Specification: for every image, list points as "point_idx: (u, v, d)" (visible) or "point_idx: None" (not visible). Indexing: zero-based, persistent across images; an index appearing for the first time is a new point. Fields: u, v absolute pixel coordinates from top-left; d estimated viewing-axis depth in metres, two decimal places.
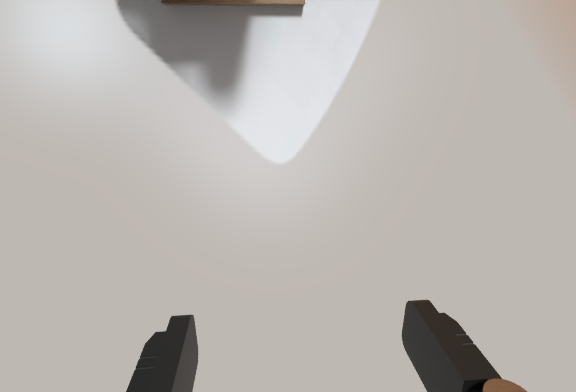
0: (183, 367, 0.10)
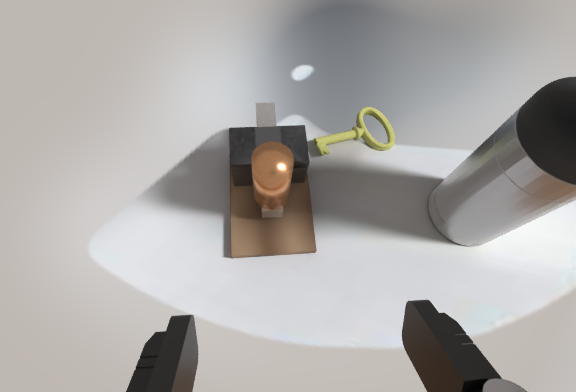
0: (183, 367, 0.10)
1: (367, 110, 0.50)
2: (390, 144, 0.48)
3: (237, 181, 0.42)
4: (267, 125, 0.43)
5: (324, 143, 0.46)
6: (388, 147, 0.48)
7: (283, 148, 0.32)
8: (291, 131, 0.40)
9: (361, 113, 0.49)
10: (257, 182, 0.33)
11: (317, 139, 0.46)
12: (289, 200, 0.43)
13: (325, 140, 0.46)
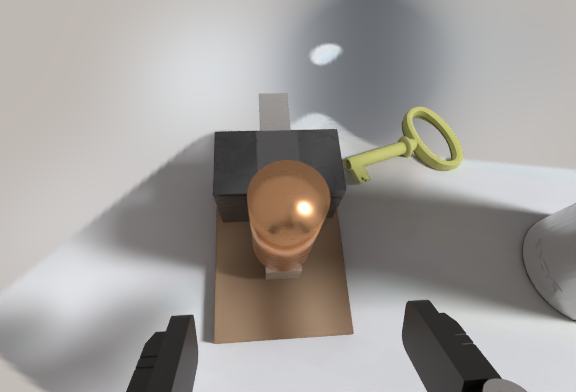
0: (183, 367, 0.10)
1: (417, 111, 0.34)
2: (458, 161, 0.32)
3: (227, 216, 0.26)
4: (276, 128, 0.27)
5: (361, 165, 0.30)
6: (455, 166, 0.32)
7: (309, 174, 0.17)
8: (315, 138, 0.25)
9: (410, 117, 0.33)
10: (258, 236, 0.18)
11: (351, 159, 0.30)
12: None
13: (363, 160, 0.30)
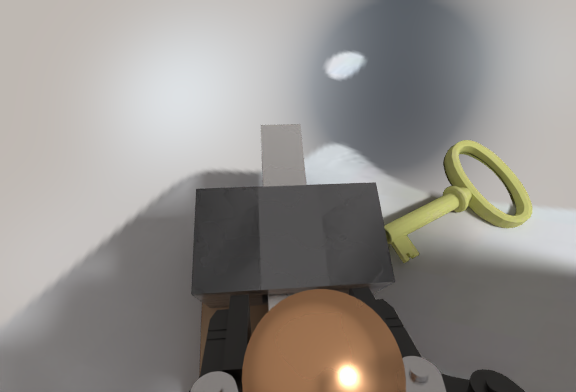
0: (248, 339, 0.11)
1: (463, 147, 0.26)
2: (528, 214, 0.24)
3: (217, 305, 0.18)
4: (286, 176, 0.19)
5: (404, 235, 0.22)
6: None
7: (362, 319, 0.09)
8: (345, 198, 0.17)
9: (456, 156, 0.25)
10: None
11: (390, 229, 0.22)
12: None
13: (406, 228, 0.22)
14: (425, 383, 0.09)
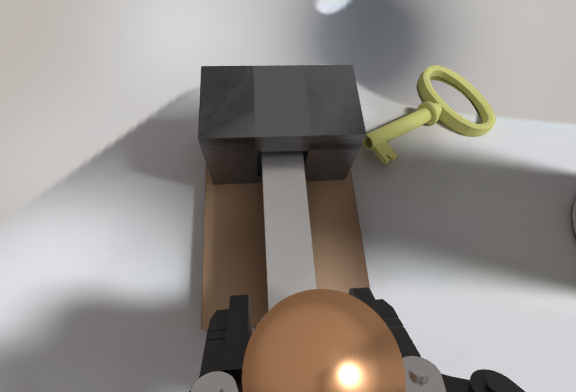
0: (248, 339, 0.11)
1: (433, 71, 0.29)
2: (492, 122, 0.27)
3: (218, 175, 0.22)
4: (285, 176, 0.19)
5: (384, 141, 0.25)
6: (489, 128, 0.27)
7: (361, 319, 0.09)
8: (326, 75, 0.20)
9: (427, 78, 0.28)
10: None
11: (371, 135, 0.24)
12: (317, 213, 0.22)
13: (385, 135, 0.25)
14: (425, 383, 0.09)
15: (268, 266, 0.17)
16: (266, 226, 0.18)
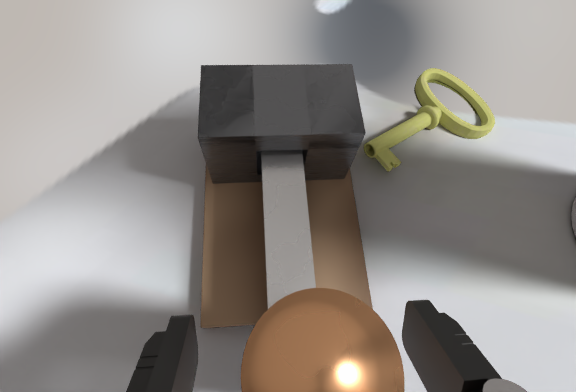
0: (183, 367, 0.10)
1: (430, 74, 0.29)
2: (491, 124, 0.27)
3: (218, 174, 0.22)
4: (285, 176, 0.19)
5: (386, 148, 0.25)
6: (489, 130, 0.27)
7: (360, 318, 0.09)
8: (326, 74, 0.20)
9: (425, 82, 0.28)
10: None
11: (373, 143, 0.24)
12: (317, 212, 0.22)
13: (387, 142, 0.25)
14: None
15: (267, 265, 0.17)
16: (265, 226, 0.18)
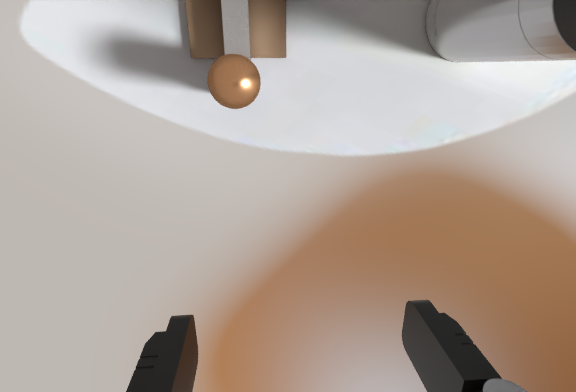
0: (183, 367, 0.10)
1: None
2: None
3: None
4: None
5: None
6: None
7: (248, 65, 0.26)
8: None
9: None
10: None
11: None
12: None
13: None
14: None
15: (223, 28, 0.32)
16: (222, 2, 0.31)
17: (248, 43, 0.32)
